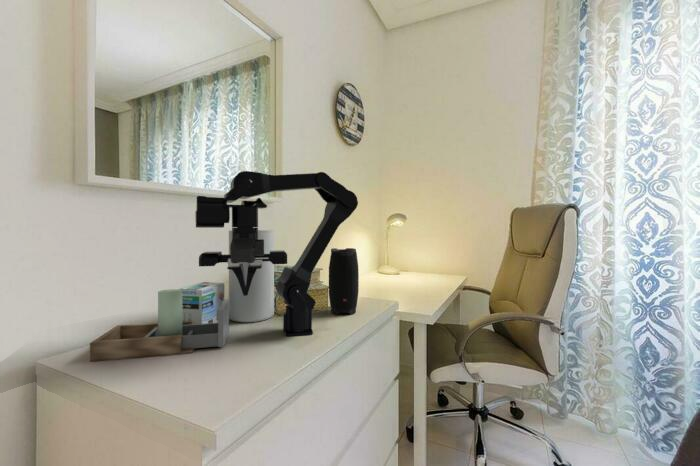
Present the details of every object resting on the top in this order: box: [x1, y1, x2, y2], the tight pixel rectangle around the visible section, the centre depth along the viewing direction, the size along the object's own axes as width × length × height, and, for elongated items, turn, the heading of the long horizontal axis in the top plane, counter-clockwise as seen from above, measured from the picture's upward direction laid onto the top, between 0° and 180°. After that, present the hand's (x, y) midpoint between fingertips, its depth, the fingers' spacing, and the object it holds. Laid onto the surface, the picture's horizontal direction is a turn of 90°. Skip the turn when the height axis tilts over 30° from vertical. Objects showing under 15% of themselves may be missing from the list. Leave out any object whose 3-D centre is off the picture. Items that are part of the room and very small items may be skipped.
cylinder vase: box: [228, 229, 275, 323], centre depth 91 cm, size 12×12×25 cm
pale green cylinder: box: [157, 288, 182, 337], centre depth 68 cm, size 5×5×11 cm
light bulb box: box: [179, 281, 225, 324], centre depth 82 cm, size 11×7×11 cm, turn 172°
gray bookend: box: [145, 298, 230, 349], centre depth 69 cm, size 16×10×8 cm, turn 104°
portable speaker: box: [328, 247, 360, 316], centre depth 97 cm, size 9×9×20 cm
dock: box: [89, 321, 196, 363], centre depth 68 cm, size 18×11×4 cm, turn 104°
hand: (245, 295), depth 72 cm, fingers closed
